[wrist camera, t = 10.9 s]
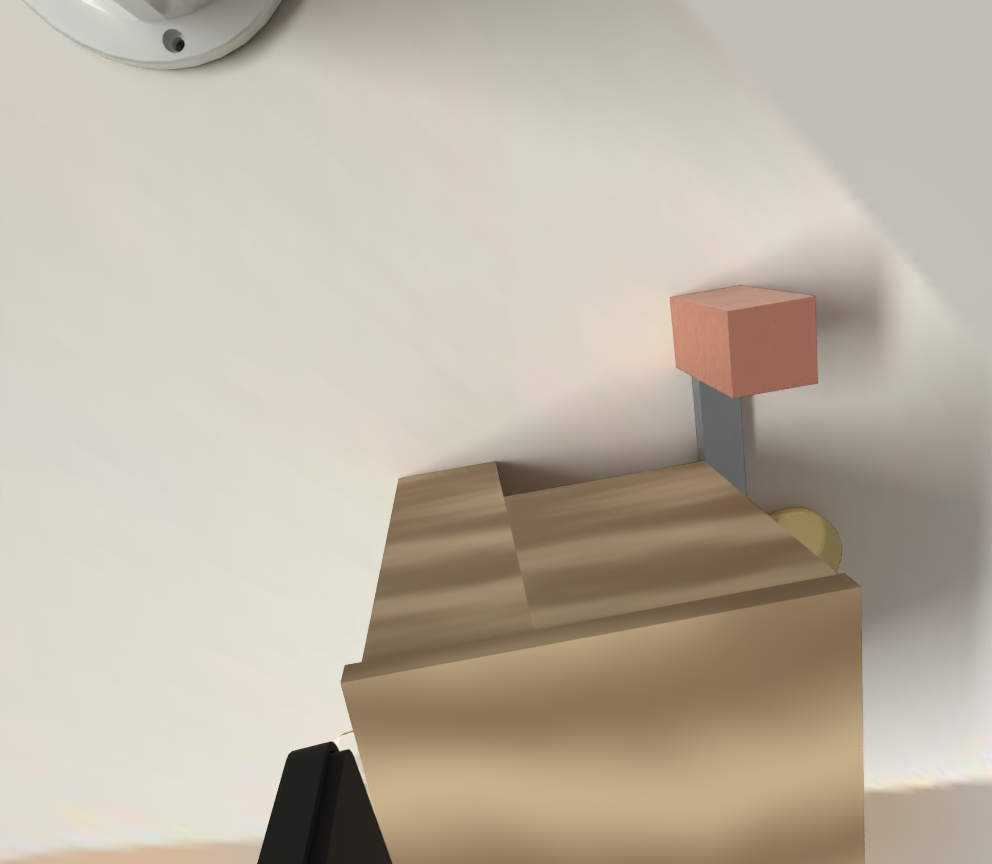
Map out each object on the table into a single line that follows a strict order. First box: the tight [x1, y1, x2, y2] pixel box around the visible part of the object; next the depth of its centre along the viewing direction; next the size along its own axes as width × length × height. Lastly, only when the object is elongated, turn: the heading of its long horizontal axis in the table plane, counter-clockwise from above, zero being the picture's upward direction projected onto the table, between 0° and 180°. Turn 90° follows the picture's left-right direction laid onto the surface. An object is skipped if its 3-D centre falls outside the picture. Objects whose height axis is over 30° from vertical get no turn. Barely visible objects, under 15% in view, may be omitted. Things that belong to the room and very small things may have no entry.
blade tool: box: [670, 285, 818, 497], centre depth 33 cm, size 21×4×7 cm, turn 9°
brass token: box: [769, 507, 842, 572], centre depth 37 cm, size 5×5×1 cm
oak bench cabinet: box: [341, 461, 865, 864], centre depth 29 cm, size 16×14×17 cm
